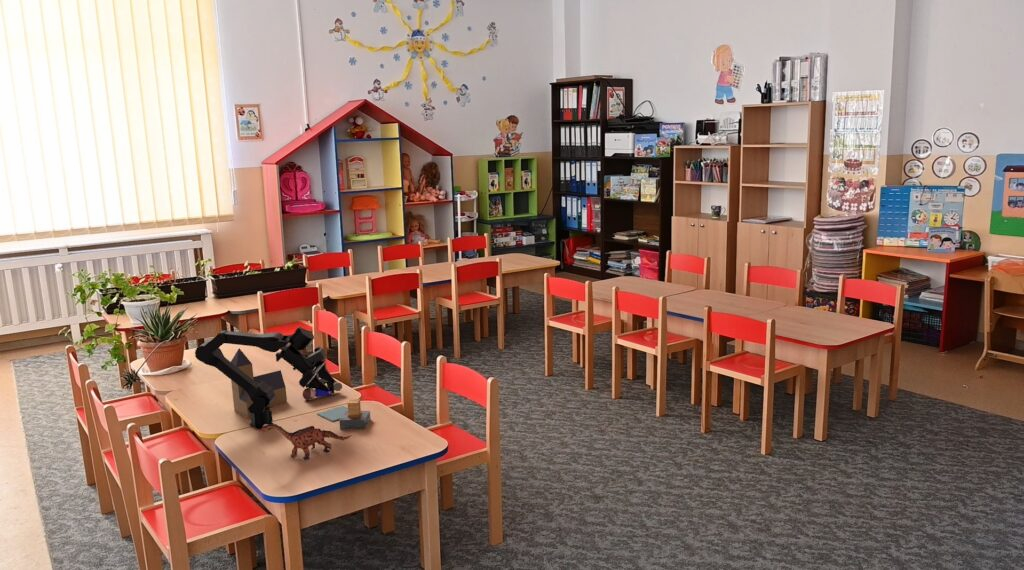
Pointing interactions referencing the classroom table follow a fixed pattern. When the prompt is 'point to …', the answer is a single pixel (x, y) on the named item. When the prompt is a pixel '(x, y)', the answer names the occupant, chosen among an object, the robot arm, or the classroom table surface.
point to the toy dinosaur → (306, 438)
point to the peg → (354, 408)
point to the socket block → (355, 421)
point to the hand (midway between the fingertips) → (331, 386)
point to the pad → (333, 413)
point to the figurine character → (311, 393)
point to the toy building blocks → (271, 379)
